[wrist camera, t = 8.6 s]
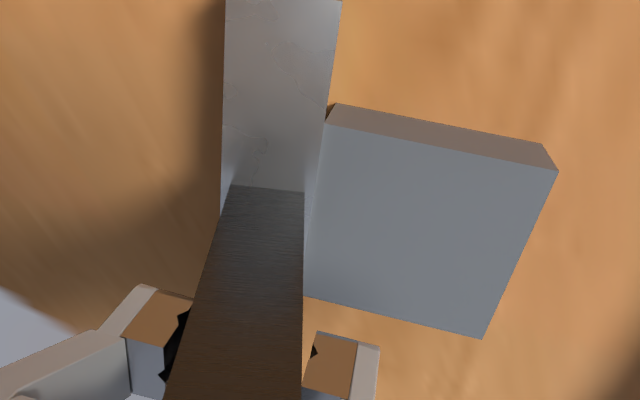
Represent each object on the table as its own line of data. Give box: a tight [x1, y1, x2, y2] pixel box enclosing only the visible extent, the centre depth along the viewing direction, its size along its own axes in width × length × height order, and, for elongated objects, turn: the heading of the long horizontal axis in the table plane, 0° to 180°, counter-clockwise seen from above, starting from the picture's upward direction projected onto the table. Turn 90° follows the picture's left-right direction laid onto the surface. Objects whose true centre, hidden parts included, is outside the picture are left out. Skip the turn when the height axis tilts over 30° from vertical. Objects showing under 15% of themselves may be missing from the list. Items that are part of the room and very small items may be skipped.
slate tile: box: [303, 103, 559, 340], centre depth 16 cm, size 7×7×2 cm
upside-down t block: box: [162, 0, 343, 400], centre depth 12 cm, size 14×3×12 cm, turn 172°
